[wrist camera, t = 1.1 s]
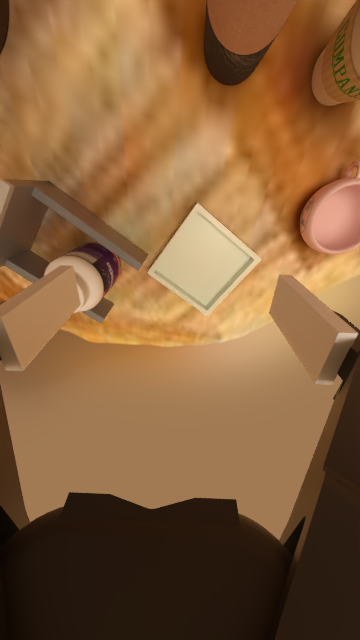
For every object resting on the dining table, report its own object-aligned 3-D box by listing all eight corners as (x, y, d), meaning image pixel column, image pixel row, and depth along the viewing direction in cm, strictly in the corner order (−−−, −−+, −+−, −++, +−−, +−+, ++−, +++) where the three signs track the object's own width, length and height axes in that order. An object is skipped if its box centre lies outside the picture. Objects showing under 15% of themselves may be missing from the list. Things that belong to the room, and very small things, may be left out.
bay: (20, 251, 41) (-29, 270, 32) (49, 181, 36) (-1, 179, 26) (110, 308, 46) (91, 338, 37) (147, 254, 41) (136, 274, 31)
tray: (149, 268, 42) (147, 273, 40) (196, 202, 36) (197, 202, 34) (206, 310, 46) (207, 316, 44) (257, 255, 40) (261, 259, 38)
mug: (341, 250, 39) (365, 259, 34) (284, 244, 39) (298, 253, 34) (377, 165, 33) (411, 161, 28) (309, 159, 33) (331, 154, 28)
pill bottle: (117, 290, 44) (89, 330, 32) (74, 276, 43) (28, 312, 31) (126, 249, 40) (98, 277, 28) (80, 233, 39) (29, 254, 27)
